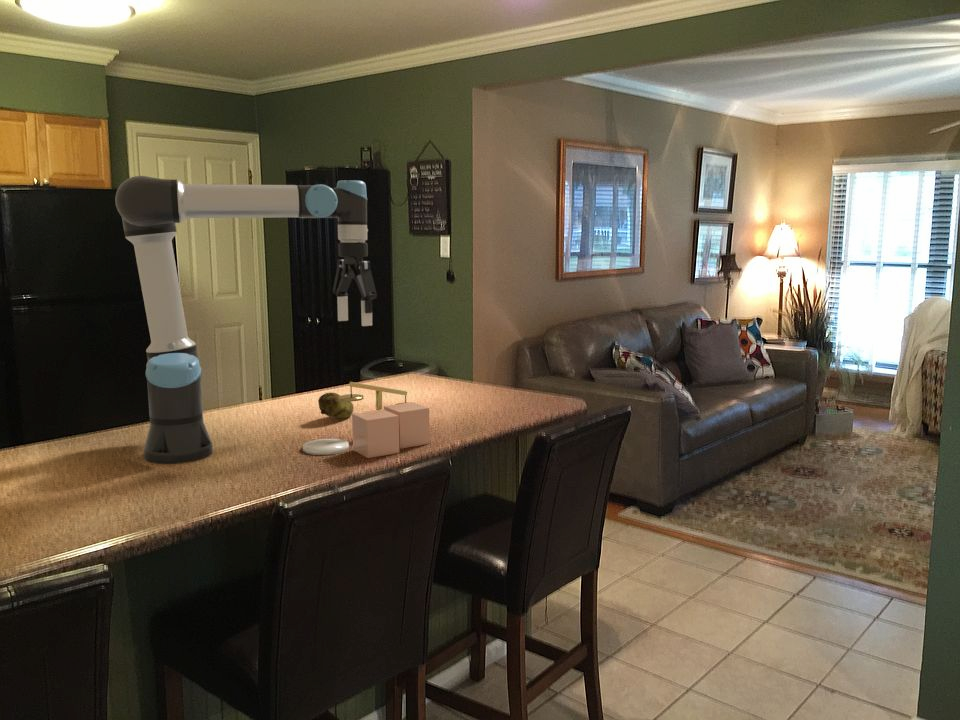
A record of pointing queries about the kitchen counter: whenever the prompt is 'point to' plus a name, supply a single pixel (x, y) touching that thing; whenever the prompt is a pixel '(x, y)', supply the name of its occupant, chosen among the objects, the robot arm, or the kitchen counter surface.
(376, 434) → the tan cardboard-like box
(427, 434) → the peach pink cube
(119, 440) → the kitchen counter surface
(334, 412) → the potato
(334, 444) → the dish
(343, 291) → the robot arm
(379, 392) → the balance
